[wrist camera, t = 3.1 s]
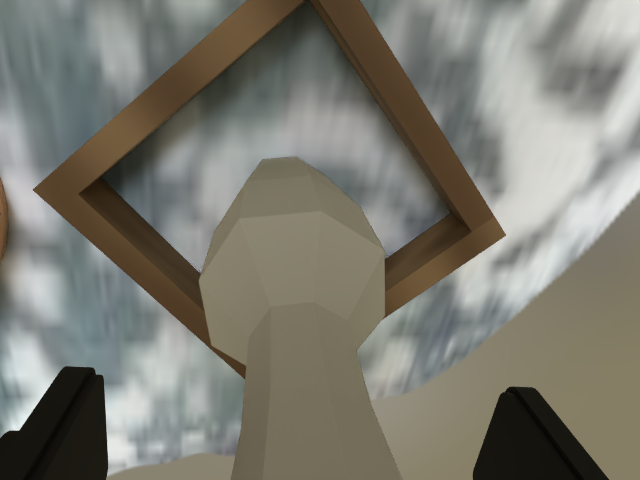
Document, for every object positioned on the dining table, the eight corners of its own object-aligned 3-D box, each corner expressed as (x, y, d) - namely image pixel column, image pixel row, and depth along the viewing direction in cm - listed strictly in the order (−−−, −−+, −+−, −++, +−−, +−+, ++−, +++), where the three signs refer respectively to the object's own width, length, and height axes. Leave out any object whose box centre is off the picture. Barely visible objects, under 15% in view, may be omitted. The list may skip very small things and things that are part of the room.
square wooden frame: (313, -49, 20) (320, -64, 18) (482, 216, 27) (506, 235, 24) (60, 173, 23) (32, 189, 20) (266, 365, 29) (266, 398, 27)
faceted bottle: (219, 234, 25) (18, 935, 5) (241, 126, 23) (38, 629, 3) (324, 257, 27) (485, 892, 7) (355, 155, 24) (748, 652, 4)
